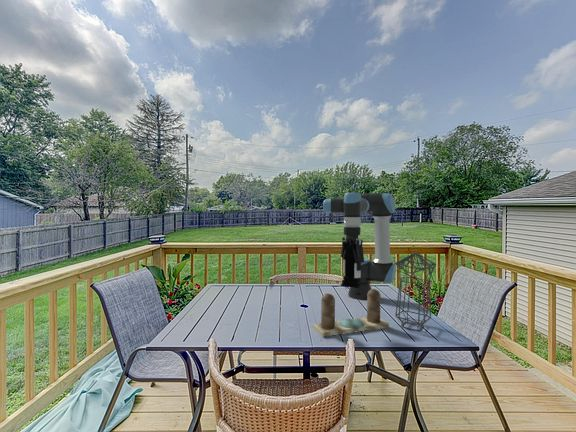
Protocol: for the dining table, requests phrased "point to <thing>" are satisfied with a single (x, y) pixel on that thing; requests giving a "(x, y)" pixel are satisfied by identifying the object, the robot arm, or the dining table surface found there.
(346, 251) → the chess piece
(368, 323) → the wooden twin peg stand
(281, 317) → the dining table surface
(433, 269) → the geometric lantern
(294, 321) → the dining table surface
